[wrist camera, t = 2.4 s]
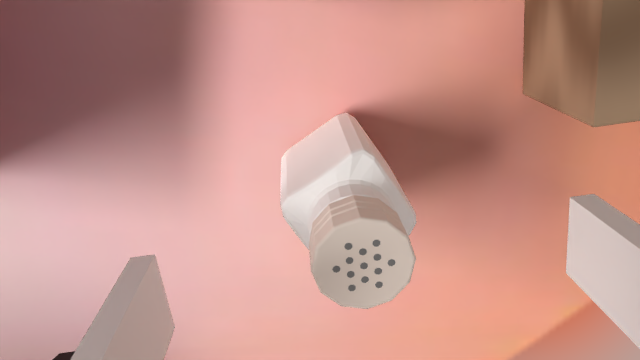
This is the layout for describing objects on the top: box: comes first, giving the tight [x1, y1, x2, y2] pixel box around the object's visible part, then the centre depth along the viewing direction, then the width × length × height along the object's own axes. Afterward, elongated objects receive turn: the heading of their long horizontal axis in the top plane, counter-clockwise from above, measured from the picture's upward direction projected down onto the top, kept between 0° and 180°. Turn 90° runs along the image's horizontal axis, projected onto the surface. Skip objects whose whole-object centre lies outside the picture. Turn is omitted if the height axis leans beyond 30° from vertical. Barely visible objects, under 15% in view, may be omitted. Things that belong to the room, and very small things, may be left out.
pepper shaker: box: [280, 113, 416, 309], centre depth 20 cm, size 4×4×10 cm
